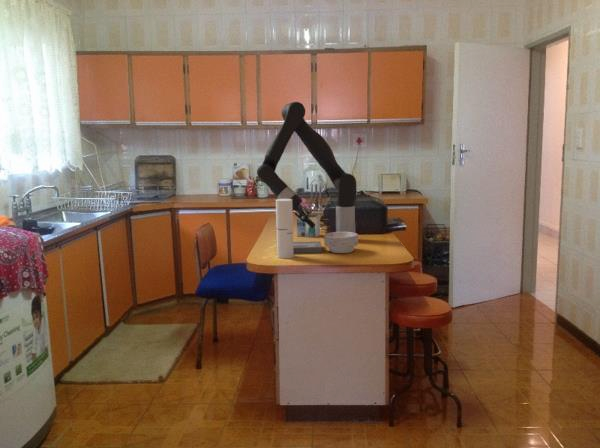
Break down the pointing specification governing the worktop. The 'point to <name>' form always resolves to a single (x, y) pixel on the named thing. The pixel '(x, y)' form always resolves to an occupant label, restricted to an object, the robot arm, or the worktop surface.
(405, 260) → the worktop surface
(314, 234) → the tea tin
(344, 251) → the paper bowls
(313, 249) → the display shelf
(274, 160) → the robot arm
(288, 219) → the cylindrical container
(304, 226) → the light bulb box
